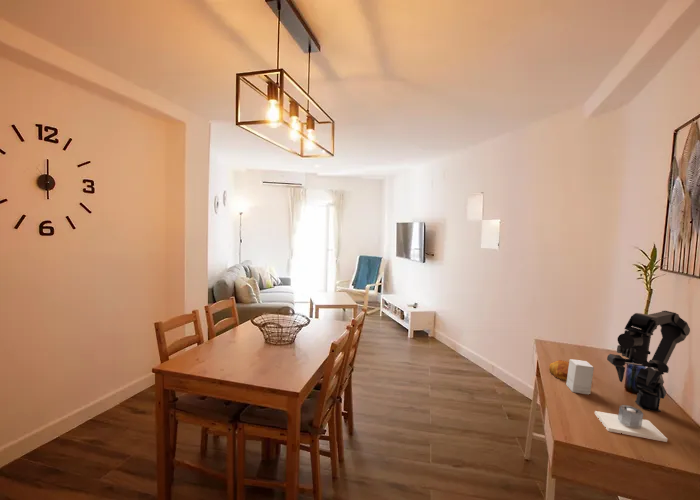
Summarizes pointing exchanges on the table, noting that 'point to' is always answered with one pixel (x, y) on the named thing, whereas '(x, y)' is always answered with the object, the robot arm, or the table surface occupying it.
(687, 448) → the table surface
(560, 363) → the croissant
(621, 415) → the tube
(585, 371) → the supplement box
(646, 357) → the robot arm
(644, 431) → the shaft stand
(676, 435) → the table surface
